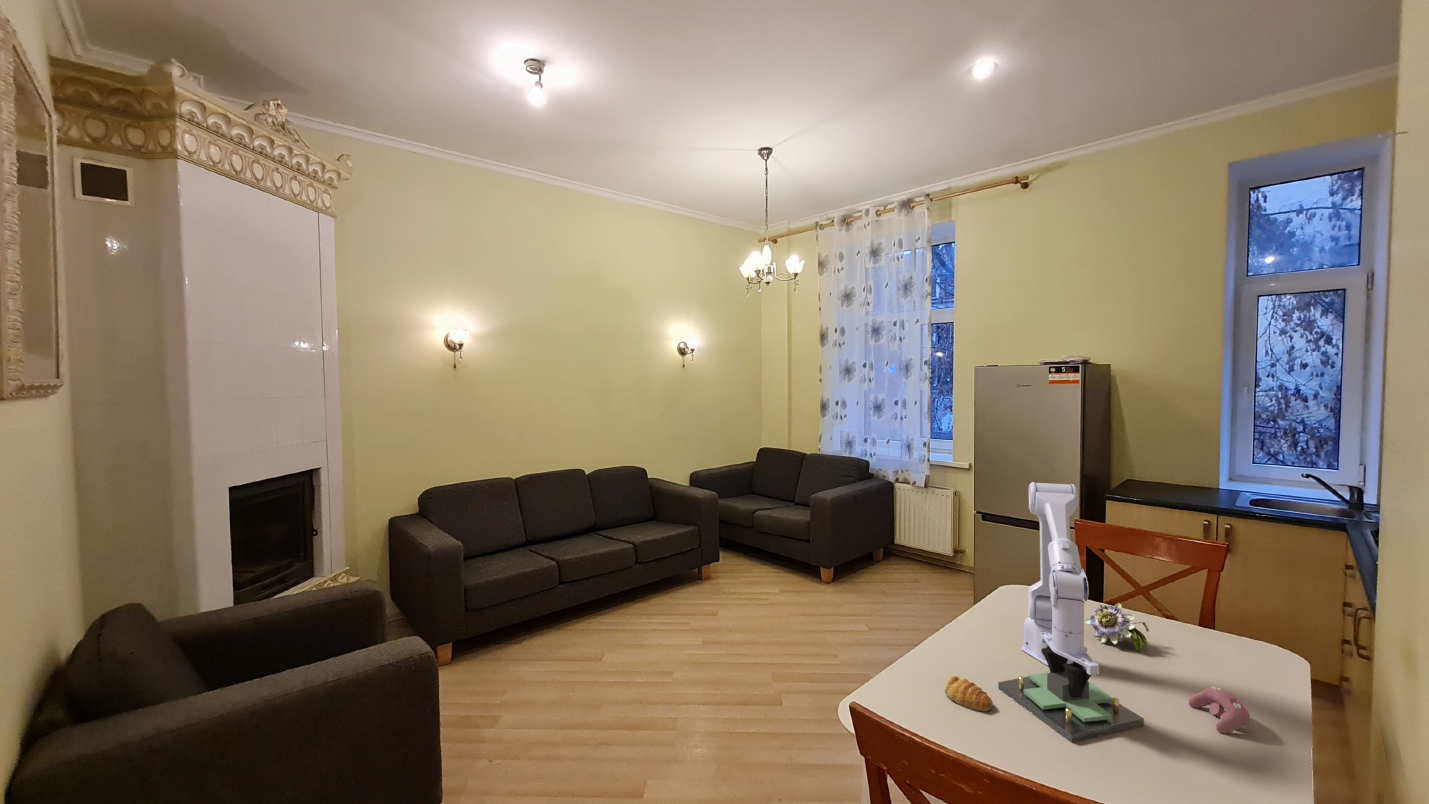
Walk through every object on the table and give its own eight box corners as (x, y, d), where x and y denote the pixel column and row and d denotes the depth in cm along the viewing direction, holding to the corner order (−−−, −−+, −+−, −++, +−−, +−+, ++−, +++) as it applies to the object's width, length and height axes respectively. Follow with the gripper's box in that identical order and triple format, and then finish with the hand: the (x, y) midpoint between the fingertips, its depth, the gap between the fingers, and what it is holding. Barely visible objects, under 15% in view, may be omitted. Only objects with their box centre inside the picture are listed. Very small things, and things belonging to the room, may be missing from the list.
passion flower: (1104, 663, 145) (1073, 619, 149) (1125, 645, 150) (1095, 603, 154) (1143, 656, 136) (1109, 609, 140) (1164, 637, 141) (1131, 592, 145)
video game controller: (1240, 744, 108) (1260, 714, 107) (1216, 731, 108) (1236, 702, 108) (1205, 713, 118) (1223, 685, 117) (1184, 702, 118) (1201, 674, 117)
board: (1008, 680, 125) (1008, 661, 125) (1073, 673, 127) (1073, 655, 127) (1061, 724, 110) (1061, 703, 109) (1134, 716, 111) (1134, 695, 111)
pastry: (998, 705, 119) (998, 688, 119) (982, 718, 115) (982, 700, 115) (957, 686, 127) (957, 670, 127) (941, 697, 123) (941, 681, 123)
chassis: (998, 688, 125) (998, 671, 125) (1063, 676, 130) (1063, 659, 130) (1071, 742, 107) (1071, 722, 107) (1143, 725, 111) (1144, 706, 111)
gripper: (1113, 642, 111) (1112, 708, 112) (1059, 611, 125) (1059, 670, 126) (1081, 645, 110) (1080, 711, 111) (1031, 613, 124) (1030, 672, 125)
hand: (1067, 689), depth 118 cm, fingers closed on board, 4 cm apart
